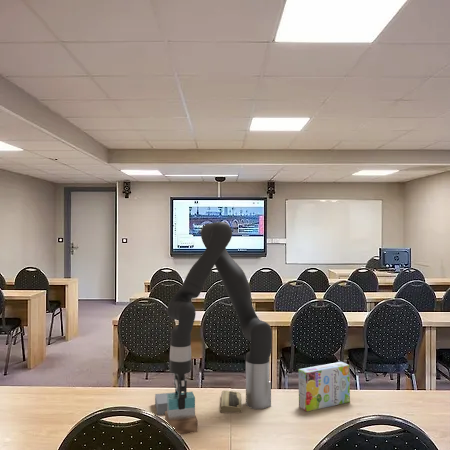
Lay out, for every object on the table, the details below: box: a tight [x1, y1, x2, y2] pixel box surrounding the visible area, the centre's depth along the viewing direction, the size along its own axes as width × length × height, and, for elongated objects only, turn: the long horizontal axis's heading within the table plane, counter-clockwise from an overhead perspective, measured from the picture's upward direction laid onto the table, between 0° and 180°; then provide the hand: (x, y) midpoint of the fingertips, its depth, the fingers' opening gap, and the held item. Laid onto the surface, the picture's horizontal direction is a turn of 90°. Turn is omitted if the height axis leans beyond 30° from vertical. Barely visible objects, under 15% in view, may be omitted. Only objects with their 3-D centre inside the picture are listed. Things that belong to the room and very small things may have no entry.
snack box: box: [297, 361, 351, 412], centre depth 175 cm, size 21×6×15 cm, turn 115°
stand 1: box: [154, 391, 175, 416], centre depth 172 cm, size 10×10×4 cm
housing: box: [167, 391, 196, 420], centre depth 156 cm, size 9×6×7 cm, turn 104°
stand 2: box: [164, 411, 199, 435], centre depth 156 cm, size 10×10×4 cm
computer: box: [219, 390, 243, 414], centre depth 176 cm, size 16×8×3 cm, turn 179°
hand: (179, 404), depth 156 cm, fingers open, 8 cm apart
